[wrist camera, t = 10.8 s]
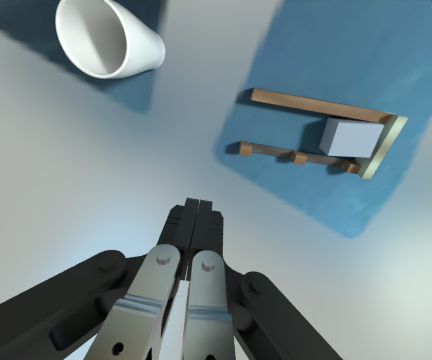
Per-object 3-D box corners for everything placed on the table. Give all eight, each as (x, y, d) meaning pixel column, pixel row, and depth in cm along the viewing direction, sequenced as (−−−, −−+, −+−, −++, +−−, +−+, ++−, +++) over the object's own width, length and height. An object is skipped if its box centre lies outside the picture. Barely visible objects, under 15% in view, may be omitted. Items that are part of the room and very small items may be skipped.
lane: (252, 87, 33) (255, 90, 29) (389, 112, 34) (408, 117, 30) (238, 149, 38) (239, 157, 35) (357, 169, 39) (370, 179, 35)
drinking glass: (126, 67, 32) (58, 67, 19) (128, 16, 29) (48, -26, 16) (167, 80, 33) (128, 88, 20) (174, 30, 30) (132, 1, 17)
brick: (327, 117, 35) (338, 122, 31) (368, 119, 35) (384, 124, 31) (318, 147, 37) (327, 155, 34) (356, 149, 37) (369, 157, 34)
